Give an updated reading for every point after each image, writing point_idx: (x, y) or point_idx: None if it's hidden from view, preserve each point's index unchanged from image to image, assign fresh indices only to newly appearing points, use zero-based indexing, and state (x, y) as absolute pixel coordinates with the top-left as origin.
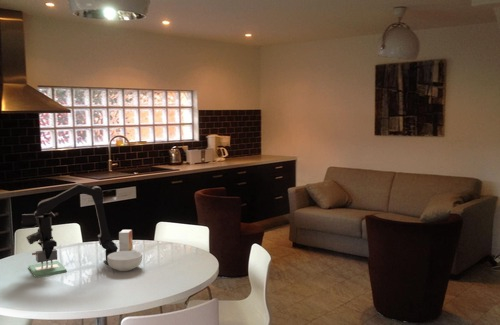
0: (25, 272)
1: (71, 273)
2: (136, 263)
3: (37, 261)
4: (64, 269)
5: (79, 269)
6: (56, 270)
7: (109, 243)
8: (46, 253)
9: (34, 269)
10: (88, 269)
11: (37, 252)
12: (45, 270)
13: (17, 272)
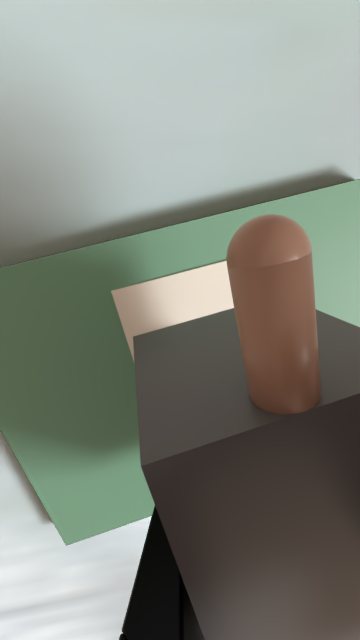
0: (194, 148)
1: (10, 561)
2: None
3: (164, 332)
4: (68, 532)
5: (109, 585)
6: (55, 477)
7: None
8: (128, 633)
9: (179, 257)
10: (87, 631)
11: (285, 441)
12: (91, 379)
13: (236, 37)
